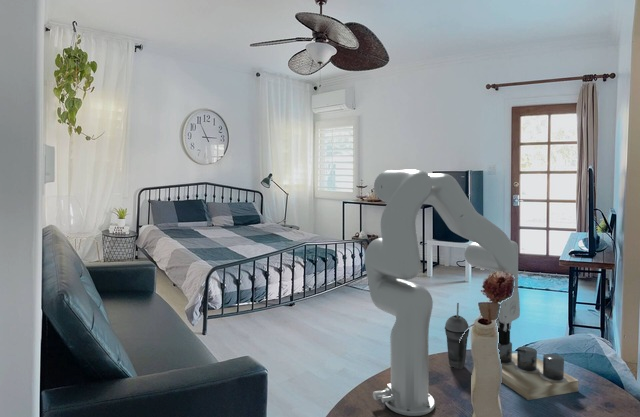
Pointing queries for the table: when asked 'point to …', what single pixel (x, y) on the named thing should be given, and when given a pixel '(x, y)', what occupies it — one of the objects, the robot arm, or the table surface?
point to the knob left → (505, 352)
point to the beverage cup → (456, 340)
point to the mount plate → (535, 381)
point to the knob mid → (527, 358)
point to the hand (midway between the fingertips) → (503, 342)
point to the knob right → (553, 366)
